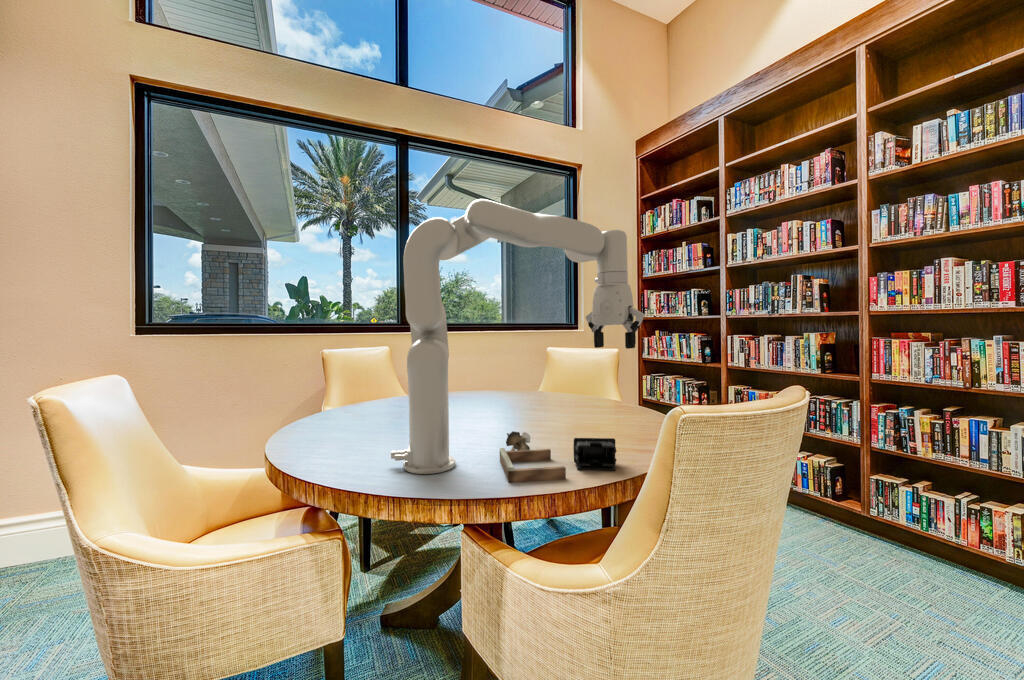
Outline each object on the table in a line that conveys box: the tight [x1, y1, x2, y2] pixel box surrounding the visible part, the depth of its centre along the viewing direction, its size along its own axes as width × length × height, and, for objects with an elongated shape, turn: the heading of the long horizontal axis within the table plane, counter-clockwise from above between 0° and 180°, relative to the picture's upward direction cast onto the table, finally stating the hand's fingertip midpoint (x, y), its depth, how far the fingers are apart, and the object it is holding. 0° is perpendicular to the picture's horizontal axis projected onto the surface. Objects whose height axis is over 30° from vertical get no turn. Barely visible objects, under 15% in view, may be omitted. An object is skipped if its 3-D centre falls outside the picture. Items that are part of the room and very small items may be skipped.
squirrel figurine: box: [505, 430, 531, 451], centre depth 119 cm, size 8×7×9 cm
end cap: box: [572, 437, 618, 472], centre depth 108 cm, size 10×7×7 cm
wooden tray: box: [499, 447, 567, 483], centre depth 106 cm, size 13×15×3 cm
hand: (614, 347), depth 113 cm, fingers open, 9 cm apart
